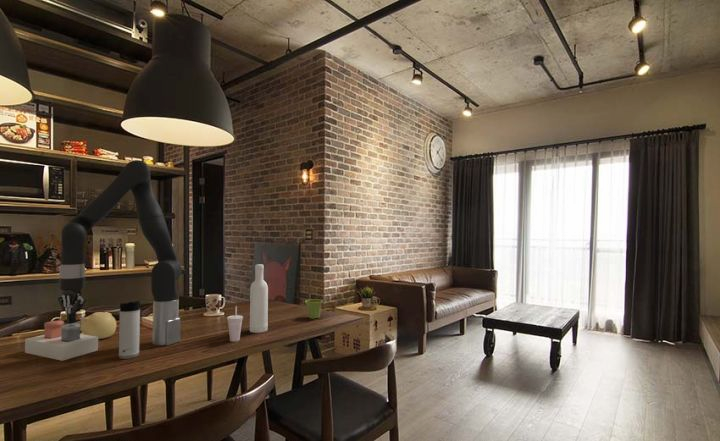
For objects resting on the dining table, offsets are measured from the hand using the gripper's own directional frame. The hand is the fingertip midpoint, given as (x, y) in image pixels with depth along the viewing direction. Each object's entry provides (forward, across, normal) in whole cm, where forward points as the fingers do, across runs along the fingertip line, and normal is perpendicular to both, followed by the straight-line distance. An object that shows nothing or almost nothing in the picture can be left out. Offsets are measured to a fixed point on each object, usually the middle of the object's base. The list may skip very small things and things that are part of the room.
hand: (71, 323), depth 137 cm
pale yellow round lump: (+11, +10, -17) cm, 23 cm away
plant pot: (+11, -56, -84) cm, 102 cm away
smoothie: (+11, -45, -36) cm, 59 cm away
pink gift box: (+7, +10, 0) cm, 12 cm away
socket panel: (+11, +5, 0) cm, 12 cm away
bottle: (+11, -45, -52) cm, 70 cm away
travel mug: (+11, -23, -6) cm, 26 cm away
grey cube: (+7, 0, 0) cm, 7 cm away
